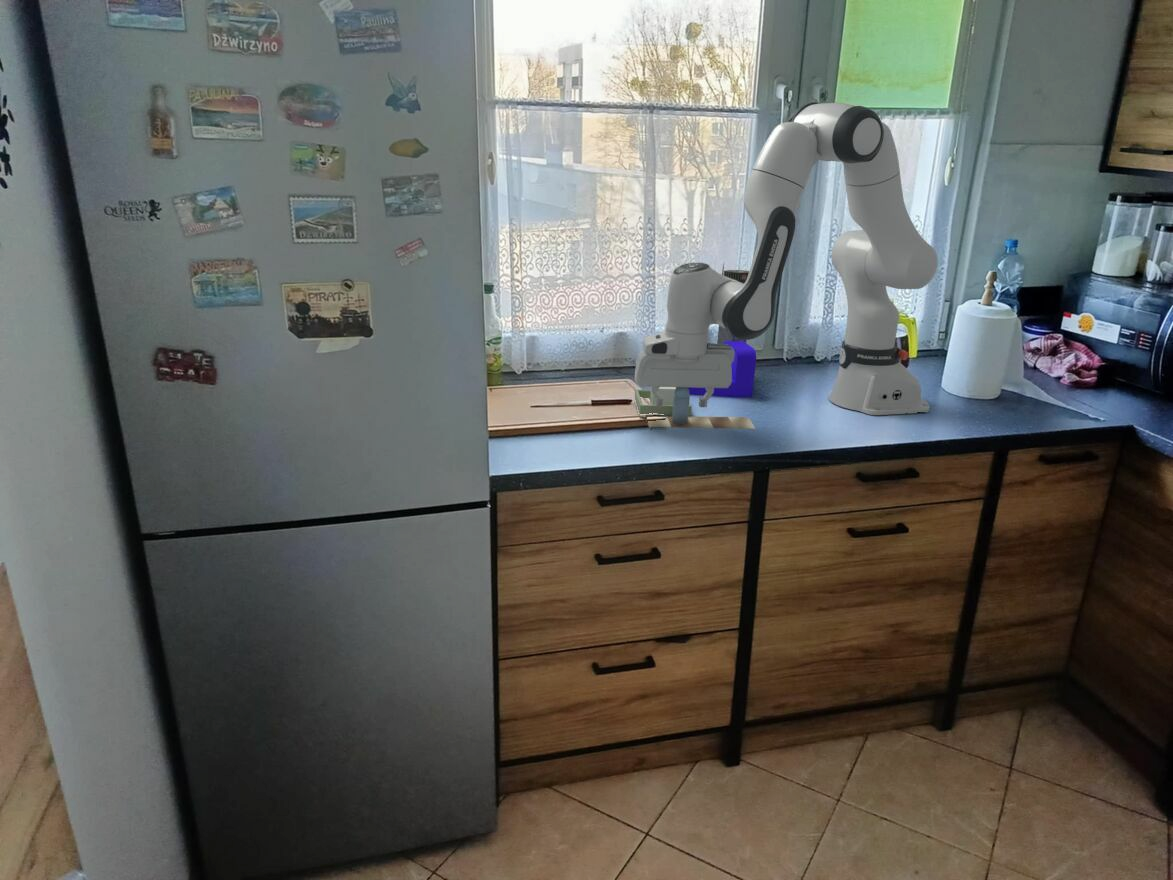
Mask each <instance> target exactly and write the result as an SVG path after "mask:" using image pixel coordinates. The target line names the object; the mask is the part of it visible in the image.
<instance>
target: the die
mask: <svg viewBox="0 0 1173 880" xmlns="http://www.w3.org/2000/svg"><path fill="white" fill-rule="evenodd" d="M675 389H676V387H659V390H658V392H656V393H657V395H658V396H659V397H662V398H663V405H673V397H674V392H675ZM650 390H651V389H650ZM650 403H651V405H655V396H654V395H653V393H652V390H651V393H650Z"/></svg>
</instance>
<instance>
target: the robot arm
mask: <svg viewBox="0 0 1173 880" xmlns="http://www.w3.org/2000/svg"><path fill="white" fill-rule="evenodd" d="M819 161H824V162H839V163H840V162H842V164H843V175H844V183H845V192H846V198H847V206H848V211H849V214H850V217H851V218H852V220H853V221H854V223H856V224H857V225H858V226H859V227H860V228H861V229H860V230H859V229H856V230H848V231H845V232H842V233H841V234H840V235H839V236H838V237H837V238H836V240H835V241H834V243H833V245H832V248H831V251H830V252H831V254H830V255H831V256H830V259H831V263H832V265H833V267H834V269H835V271H836V272H837V273H838V275H839V277H840V278H841V281H842V284H843V286H844V290H845V295H846V299H847V300H846V301H847V316H846V325H845V326H846V327H845V335H844V340H843V341H841V342H842V343H841V347H840V351H839V360H838V361H839V364H838V365H839V367H838V372H837V375H836V378H835V381H834V385H833V388H832V390H831V392H830V394H829V396H828V399H829V401H830V402H831V403H833V404H835V405H836V406H838V407H841V408H845V409H848V410H852V411H858V412H861V413H864V414H867V415H870V416H884V415H885V416H886V415H888V416H889V415H904V414H905V415H906V413H907V414H918V413H917V412H925V413H928V412H929V411H930V405H929V403H928V401H927V400H925V399H924V398H923V397H922V388H921V383H920V381H919V380H918V378H917V377H916V376H915V375H914V374H913V373H912V372H911V371H910V370H908V368H907V367H905V366H904V364H902V363H901V362H900V360H902V361H907V360H908V359H909V357H910V353H909V351H906V349H901V348H899V347H898V346H896V338H897V332H898V326H899V321H900V313H899V309H898V308H897V306H896V305H895V303H894V302H892V300H891V299H890V297H889V294H888V290H887V287H889V288H893V289H898V290H919V289H922V288H925V287H926V286H927V285H929V283H930V282H931V281H932V280H933V278H934V277H935V275H936V273H937V270H938V264H939V262H938V254H937V251H936V249H935V247H933V246H932V245H931V244H929V243H928V242H927V241H926V240H925V239H924V237H923V236H922V235H921V234H920V233H919V230H917V228H916V226H915V225H914V223H913V221H912V219H911V217H910V214H909V213H908V210H907V207H906V203H905V199H904V193H903V187H902V186H903V185H902V179H901V178H902V177H901V169H900V162H899V155H898V152H897V147H896V144H895V140H894V136H893V134H892V131H891V129H890V127H889V126H888V125H887V124H886V123H885V122H882V119H881V118H880V116H879V115H878V114H877V113H876V112H875V111H873V110H872V109H870V108H869V107H866V106H863V105H853V104H851V103H850V104H849V103H844V102H829V103H828V102H823V103H820V102H818V101H817V102H808V103H805V104H802V105H800V106H799V107H797V108H796V109H794V111H793V112H792V113H791V114H790V115H789V117H788V119H787V120H786V122H782V123H779V124H778V125H776V126H775V127H774V128H773V130H772V131H771V133H770V134H769V136H768V138H767V140H766V141H765V143H764V144H763V146H762V148H761V150H760V152H759V153H758V156H757V158H756V160H755V162H754V165H753V166H752V170H751V172H750V175H749V177H748V180H747V182H746V184H745V189H744V194H743V205H744V210H745V211H746V213H747V215H748V216H749V218H750V219H751V221H752V223H753V224H754V227H755V228H756V232H757V245H756V247H755V252H754V255H753V258H752V262H751V265H750V269H749V270H748V271H749V274H748V277H747V280H746V282H745V283H744V284H743V283H741V282H739V281H736V280H734V279H731V278H728V277H726V276H724V274H723V275H722V273H719V271H717V270H715V269H713V268H712V267H711V266H710V265H709V264H708V263H704V262H689V263H688V262H687V263H683V264H681V265H679V266H678V267H676V268H675V269H674V270H673V271H672V274H671V277H670V281H669V286H668V291H667V292H668V293H667V302H666V308H667V314H668V316H667V321H666V324H665V330H664V331H661V332H656V333H654V334H650V335H648V336H645V337H643V339H642V348H643V349H641V350H640V351H639V353H638V356H637V359H636V363H635V371H634V380H635V383H636V385H637V386H638V387H642V388H643V387H646V388H647V387H649V388H650V390H652V393H653V395H654V396H655V406H657V407H658V406H659V407H662V406H663V398H662V397H659V396H658V395H657V393H656V392H658V390H659V387H694V388H705V389H706V391H707V392H706V393H705V395H702V397H698V398H699V402H698V406H699V408H707V407H708V402H709V401H708V400H709V399H710V398H711V397H712V396H711V395H712V394H713V393H714V388H728V387H729V386H730V385H731V382H732V368H731V364H732V362H733V361H734V354H735V352H734V349H733V348H732V347H731V346H728V344H717V343H710V342H708V339H709V338H708V337H709V330H710V329H709V328H710V326H712V325H718V327H719V326H721V327H723V328H725V329H727V330H728V331H729V332H730V333H732V334H733V335H734V336H735V337H737V338H739V339H743V340H746V341H748V340H749V341H750V340H754V339H757V338H758V337H760V336H762V335H763V334H764V333H766V331H768V329H769V328H770V326H771V325H772V324H773V321H774V318H775V313H776V298H777V292H778V289H779V286H780V285H779V284H780V282H781V279H782V275H783V271H784V268H785V265H786V263H787V259H788V256H789V253H790V250H791V246H792V243H793V240H794V237H795V236H794V235H795V230H796V217H797V213H798V207H799V206H800V205H799V204H800V201H801V198H802V195H803V193H804V191H805V188H806V185H807V183H808V180H809V177H810V175H811V171H812V169H813V168H814V166H815V165H816V163H818V162H819ZM719 348H720V349H719ZM728 348H730V349H728Z"/></svg>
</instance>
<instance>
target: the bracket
mask: <svg viewBox="0 0 1173 880" xmlns="http://www.w3.org/2000/svg"><path fill="white" fill-rule="evenodd" d="M723 344H728V346H731V347H732V348H733V349H734V352H735V354H734V361H733V362H732V364H731V368H732V382H731V385H730V386H729V387H728V388H714V393H713V394H712V395H711V397H723V398H725V397H727V398H752V397H753V391H754V390H753V389H754V381H755V372H756V364H757V353H756V349H754V348H753V347H752V346H751V345H749V344H748V343H747V342H746V343H745V342H744V341H724V342H723ZM728 349H730V348H728ZM676 388H677V387H676ZM687 388H688V389H689V392H690V394H689V395H693V396H694V395H697V396H698V395H699V396H704V395H705V393H706V392H707V391H706V389H705V388H694V387H687Z"/></svg>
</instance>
